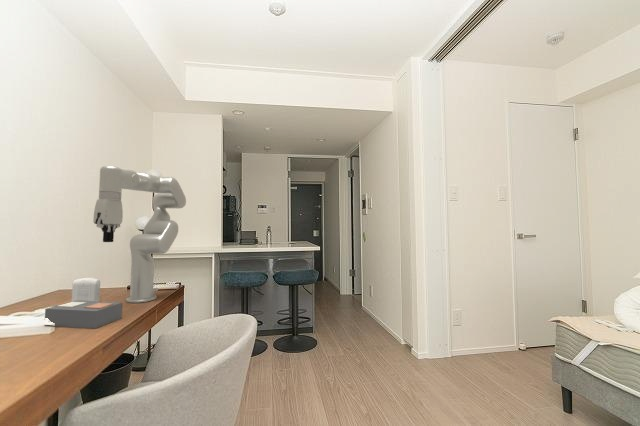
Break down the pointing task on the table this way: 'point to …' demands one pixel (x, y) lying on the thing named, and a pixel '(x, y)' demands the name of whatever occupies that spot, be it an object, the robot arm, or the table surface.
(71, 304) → the white key
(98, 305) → the terracotta key
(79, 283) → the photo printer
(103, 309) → the block
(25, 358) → the table surface
